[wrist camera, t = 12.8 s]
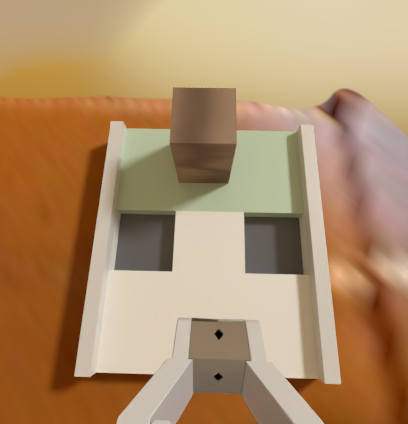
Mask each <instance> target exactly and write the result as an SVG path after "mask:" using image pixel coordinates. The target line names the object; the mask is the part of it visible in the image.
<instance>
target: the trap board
mask: <svg viewBox="0 0 408 424" xmlns="http://www.w3.org/2000/svg"><path fill="white" fill-rule="evenodd" d="M178 317H184V318H204V319H244V320H259V322H260V326H261V331H262V336H263V341H264V347H265V352H266V357H267V362H272V363H273V364H274V365H275V366H276V368H277V369H278V370H279V371H280V372H281V373H282V375H283V376H284V377H285V378H304V379H319V380H321V381H322V382H323V383H325V384H341V378H340V369H339V359H338V350H337V341H336V332H335V323H334V313H333V304H332V295H331V286H330V276H329V267H328V258H327V249H326V240H325V230H324V221H323V212H322V203H321V193H320V184H319V175H318V166H317V157H316V147H315V138H314V129H313V125H300V127H299V129H298V131H297V132H292V131H238V130H237V145H236V150H235V155H234V159H233V164H232V169H231V174H230V179H229V183H228V184H227V183H179V181H178V177H177V172H176V168H175V164H174V160H173V155H172V151H171V147H170V129H129V128H126V126H125V124H124V122H123V121H111V125H110V132H109V139H108V146H107V153H106V160H105V167H104V173H103V180H102V187H101V194H100V201H99V208H98V215H97V222H96V229H95V236H94V242H93V249H92V256H91V263H90V270H89V277H88V284H87V291H86V298H85V305H84V312H83V318H82V325H81V332H80V339H79V346H78V353H77V360H76V367H75V374H74V377H91V376H92V375H93V374H95V373H129V374H155V373H156V372H157V370H158V369H159V368H160V367H161V366H162V364H163V363H164V362H165V361H166V360H167V359H168V358H172V353H173V346H174V339H175V332H176V325H177V320H178Z"/></svg>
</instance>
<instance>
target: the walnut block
mask: <svg viewBox="0 0 408 424" xmlns="http://www.w3.org/2000/svg"><path fill="white" fill-rule="evenodd" d="M236 145H237V128H236V89H235V88H233V89H232V88H231V89H230V88H173V98H172V114H171V129H170V147H171V151H172V155H173V160H174V164H175V168H176V172H177V177H178V181H179V183H227V184H228V183H229V179H230V174H231V169H232V164H233V159H234V155H235V150H236Z"/></svg>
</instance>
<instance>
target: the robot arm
mask: <svg viewBox="0 0 408 424" xmlns="http://www.w3.org/2000/svg"><path fill="white" fill-rule="evenodd" d="M193 393H228V394H242V397H243V399H244V401H245V402H246V404H247V406H248V408H249V409H250V411H251V413H252V414H253V416H254V418H255V419H256V421H257V423H258V424H324V423H323V422H322V420H321V419H320V418H319V417H318V416H317V414H316V413H315V412H314V411H313V410H312V409H311V407H310V406H309V405H308V404H307V403H306V402H305V400H304V399H303V398H302V397H301V396H300V395H299V393H298V392H297V391H296V390H295V389H294V388H293V386H292V385H291V384H290V383H289V382H288V381H287V379H286V378H285V377H284V376H283V375H282V373H281V372H280V371H279V370H278V369H277V368H276V366H275V365H274V364H273V363H272V362H267V357H266V352H265V347H264V341H263V336H262V331H261V326H260V322H259V320H244V319H204V318H184V317H178V320H177V325H176V332H175V339H174V346H173V353H172V358H168V359H167V360H166V361H165V362H164V363H163V364H162V366H161V367H160V368H159V369H158V370H157V372H156V373H155V374H154V375H153V376H152V378H151V379H150V380H149V381H148V382H147V384H146V385H145V386H144V387H143V388H142V390H141V391H140V392H139V393H138V394H137V395H136V397H135V398H134V399H133V400H132V401H131V403H130V404H129V405H128V406H127V407H126V409H125V410H124V411H123V412H122V413H121V415H120V416H119V417H118V420H117V424H176V423H177V421H178V419H179V417H180V416H181V414H182V412H183V411H184V409H185V407H186V406H187V404H188V402H189V400H190V399H191V397H192V395H193Z"/></svg>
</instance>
